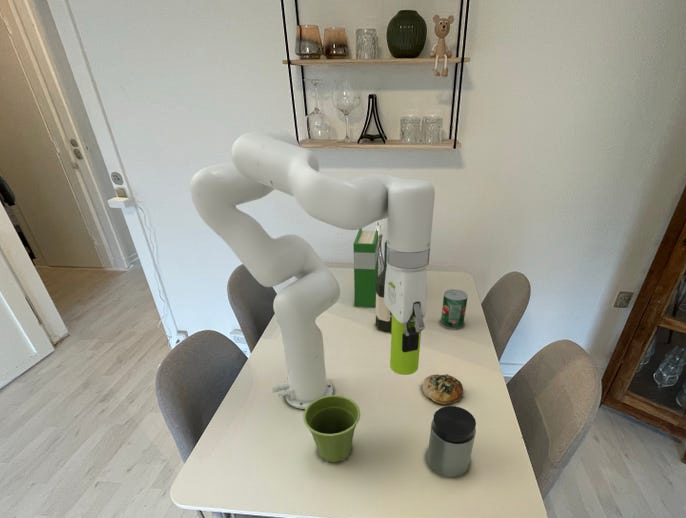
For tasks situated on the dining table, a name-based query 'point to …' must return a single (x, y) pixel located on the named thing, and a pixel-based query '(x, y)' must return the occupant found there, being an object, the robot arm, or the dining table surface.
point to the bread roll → (442, 388)
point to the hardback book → (366, 267)
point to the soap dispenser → (399, 359)
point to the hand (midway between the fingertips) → (403, 340)
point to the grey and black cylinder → (451, 441)
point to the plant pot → (332, 425)
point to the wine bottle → (382, 300)
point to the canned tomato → (454, 309)
